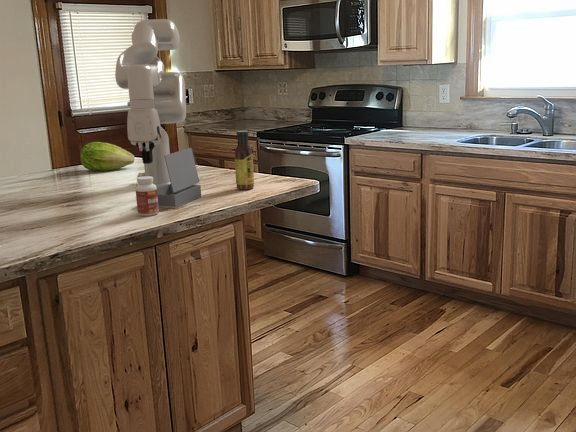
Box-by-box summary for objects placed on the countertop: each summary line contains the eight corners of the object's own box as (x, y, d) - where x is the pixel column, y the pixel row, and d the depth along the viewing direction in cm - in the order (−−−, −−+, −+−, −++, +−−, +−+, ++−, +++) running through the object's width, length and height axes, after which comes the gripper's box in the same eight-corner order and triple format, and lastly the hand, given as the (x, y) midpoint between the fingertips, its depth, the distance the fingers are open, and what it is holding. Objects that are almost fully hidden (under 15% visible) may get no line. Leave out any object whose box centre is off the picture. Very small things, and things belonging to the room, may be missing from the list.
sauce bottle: (251, 190, 211) (248, 132, 206) (234, 190, 212) (230, 132, 207) (256, 186, 217) (253, 129, 212) (239, 186, 218) (236, 130, 213)
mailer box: (142, 206, 194) (141, 193, 193) (170, 195, 209) (169, 183, 208) (175, 208, 190) (174, 195, 189) (201, 196, 204) (200, 184, 203)
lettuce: (134, 157, 254) (135, 136, 264) (78, 155, 250) (81, 133, 259) (134, 180, 264) (135, 159, 273) (80, 178, 259) (83, 157, 268)
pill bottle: (151, 217, 180) (147, 179, 178) (133, 216, 183) (129, 179, 180) (163, 212, 186) (159, 175, 183) (145, 210, 188) (142, 175, 185)
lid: (163, 155, 187) (164, 155, 187) (190, 147, 201) (191, 147, 201) (172, 192, 189) (173, 192, 189) (198, 182, 203) (199, 182, 203)
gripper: (115, 106, 194) (121, 164, 198) (155, 105, 188) (161, 165, 192) (129, 104, 200) (135, 161, 205) (169, 103, 195) (174, 161, 199)
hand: (147, 162), depth 198 cm, fingers closed
